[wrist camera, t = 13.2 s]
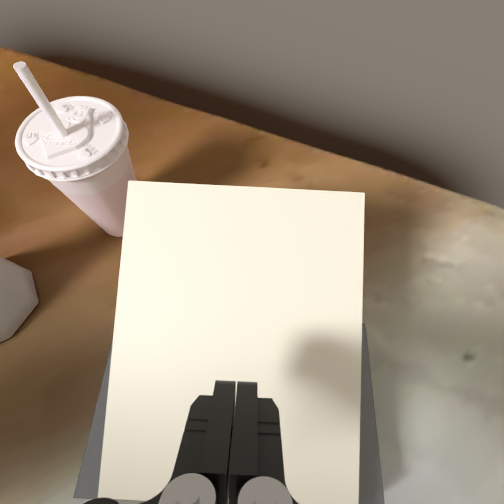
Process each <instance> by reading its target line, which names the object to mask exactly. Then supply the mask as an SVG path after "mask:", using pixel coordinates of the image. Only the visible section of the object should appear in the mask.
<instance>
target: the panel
mask: <svg viewBox="0 0 504 504" xmlns="http://www.w3.org/2000/svg"><path fill="white" fill-rule="evenodd" d="M364 202H365V193H360V192H341V191H321V190H302V189H282V188H263V187H244V186H224V185H205V184H185V183H166V182H147V181H128V189H127V199H126V210H125V220H124V230H123V241H122V251H121V262H120V272H119V282H118V293H117V303H116V313H115V324H114V334H113V344H112V355H111V365H110V375H109V386H108V396H107V406H106V417H105V427H104V437H103V448H102V458H101V468H100V479H99V489H98V497H97V498H103V497H105V498H111V499H114V500H115V501H117V502H118V503H119V504H139V503H142V502H145V501H148V500H150V499H152V498H153V497H155V496H156V495H158V494H159V493H160V492H161V491H162V490H163V489H164V488H165V487H166V485H167V484H168V482H169V481H170V479H171V476H172V473H173V470H174V466H175V462H176V458H177V455H178V451H179V447H180V443H181V440H182V436H183V432H184V429H185V425H186V421H187V417H188V414H189V410H190V406H191V405H192V403H193V402H194V401H195V400H196V399H197V397H198V396H199V395H212V396H213V391H214V386H215V381H216V380H224V381H236V392H237V381H245V382H257V386H258V398H272V399H273V401H274V402H275V404H276V406H277V407H278V409H279V417H280V429H281V440H282V452H283V464H284V475H285V483H286V486H287V489H288V491H289V493H290V494H291V496H292V497H293V498H294V499H295V501H296V502H298V503H299V504H358V503H359V453H360V402H361V352H362V302H363V252H364ZM235 403H236V398H235ZM228 503H229V499H228Z"/></svg>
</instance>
